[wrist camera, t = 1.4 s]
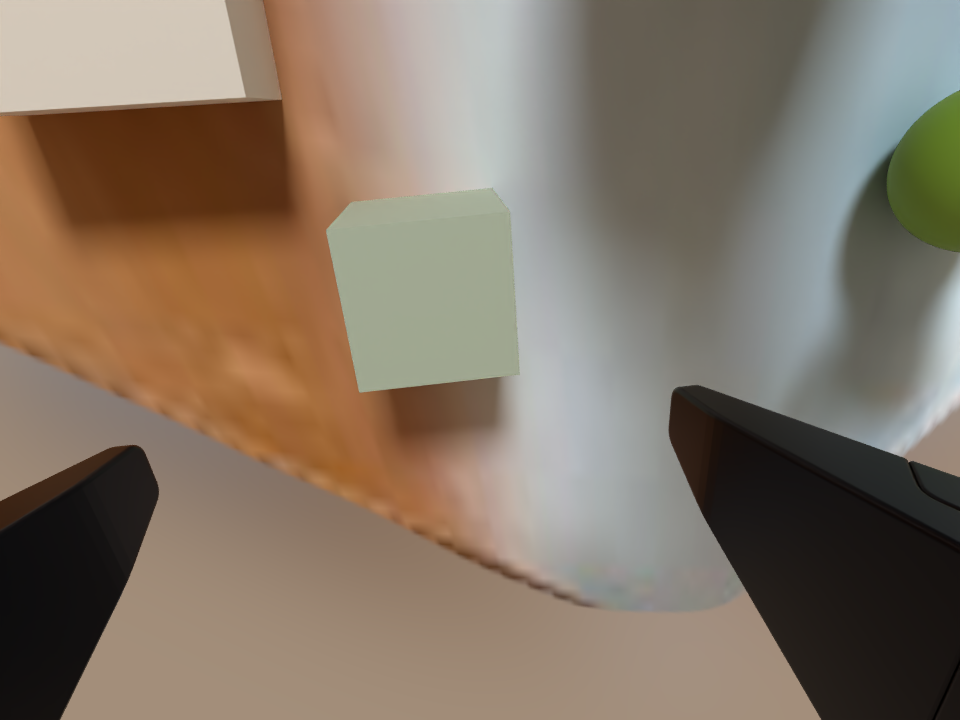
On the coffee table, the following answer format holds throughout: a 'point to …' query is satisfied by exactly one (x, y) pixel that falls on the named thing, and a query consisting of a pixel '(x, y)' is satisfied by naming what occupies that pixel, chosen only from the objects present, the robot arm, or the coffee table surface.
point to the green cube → (427, 288)
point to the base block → (132, 55)
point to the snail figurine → (929, 176)
